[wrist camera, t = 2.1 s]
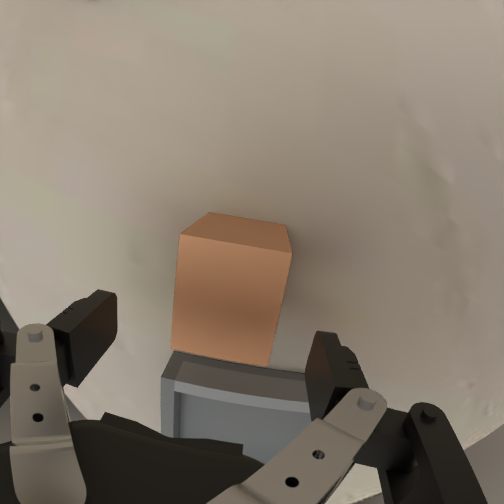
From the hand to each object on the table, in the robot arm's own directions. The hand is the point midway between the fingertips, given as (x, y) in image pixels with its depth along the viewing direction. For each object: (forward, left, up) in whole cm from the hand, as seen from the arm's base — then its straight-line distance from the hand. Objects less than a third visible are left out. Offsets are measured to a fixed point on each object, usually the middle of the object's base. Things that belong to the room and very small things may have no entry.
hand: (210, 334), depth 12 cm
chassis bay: (-3, +14, -10) cm, 17 cm away
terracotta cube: (0, 0, -10) cm, 10 cm away
